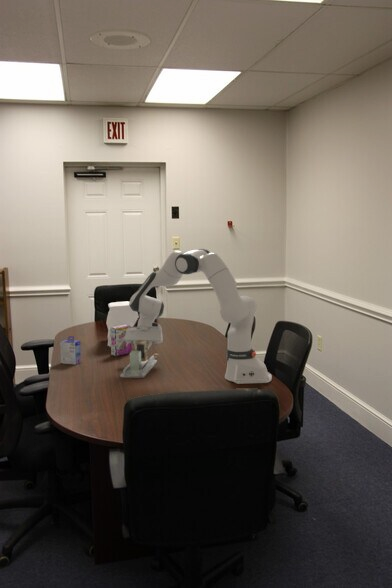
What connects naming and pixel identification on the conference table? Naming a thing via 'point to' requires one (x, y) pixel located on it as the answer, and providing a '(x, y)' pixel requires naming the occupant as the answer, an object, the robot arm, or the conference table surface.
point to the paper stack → (120, 316)
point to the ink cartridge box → (70, 351)
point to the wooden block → (142, 349)
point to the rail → (138, 366)
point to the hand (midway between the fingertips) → (141, 349)
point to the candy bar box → (119, 341)
